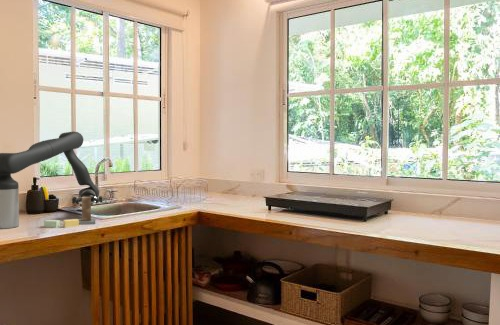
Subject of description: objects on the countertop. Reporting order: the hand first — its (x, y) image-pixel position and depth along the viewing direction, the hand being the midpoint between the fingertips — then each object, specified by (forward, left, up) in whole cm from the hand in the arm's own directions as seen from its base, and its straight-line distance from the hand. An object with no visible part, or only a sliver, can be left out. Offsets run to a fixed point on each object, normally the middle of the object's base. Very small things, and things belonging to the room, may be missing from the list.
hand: (87, 201), depth 217 cm
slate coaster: (0, -6, -9) cm, 11 cm away
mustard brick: (-7, -13, -9) cm, 18 cm away
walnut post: (0, -6, -8) cm, 10 cm away
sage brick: (-15, -12, -9) cm, 21 cm away
